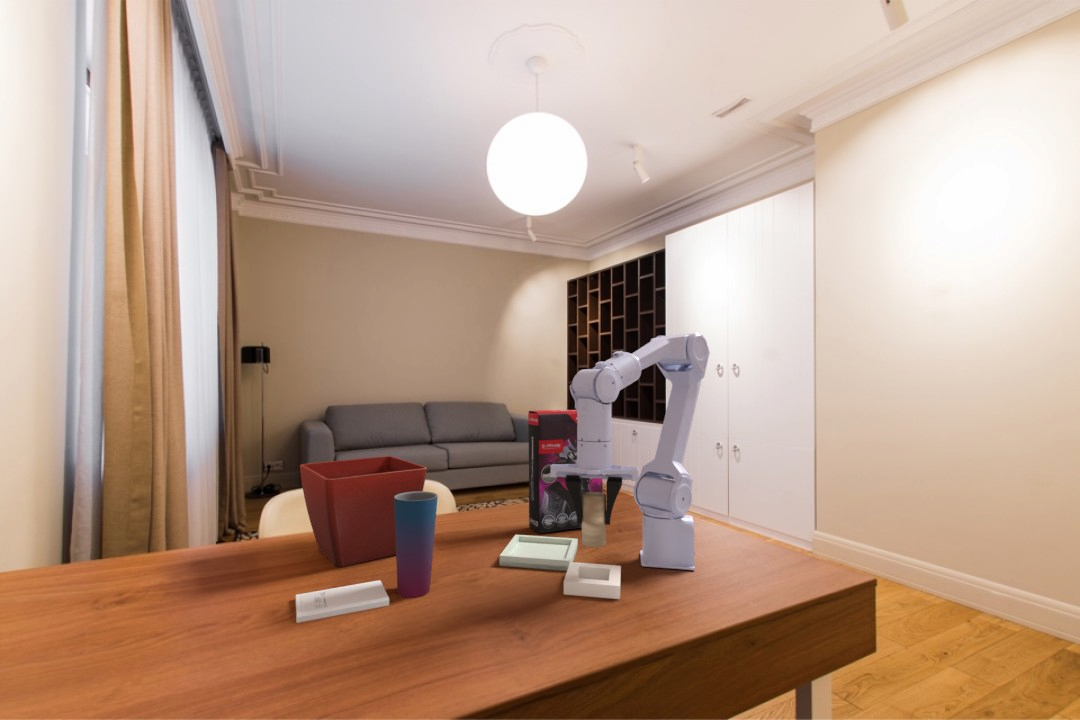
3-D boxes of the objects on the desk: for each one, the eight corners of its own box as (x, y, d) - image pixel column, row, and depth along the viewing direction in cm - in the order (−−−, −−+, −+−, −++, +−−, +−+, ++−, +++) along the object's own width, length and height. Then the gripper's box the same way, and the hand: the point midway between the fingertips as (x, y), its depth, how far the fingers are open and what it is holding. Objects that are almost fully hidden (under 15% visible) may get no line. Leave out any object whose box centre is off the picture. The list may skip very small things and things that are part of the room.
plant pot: (322, 579, 83) (325, 478, 84) (295, 548, 98) (298, 463, 99) (427, 555, 95) (429, 467, 96) (388, 531, 110) (390, 455, 111)
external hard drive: (389, 609, 73) (296, 627, 68) (379, 589, 80) (295, 603, 75) (389, 598, 73) (296, 615, 68) (380, 578, 81) (295, 592, 75)
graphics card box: (537, 535, 108) (539, 411, 110) (525, 527, 114) (527, 409, 116) (604, 527, 115) (604, 410, 117) (589, 519, 122) (589, 409, 123)
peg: (606, 540, 83) (606, 492, 84) (605, 548, 79) (605, 497, 80) (582, 538, 84) (583, 491, 84) (580, 546, 80) (580, 496, 80)
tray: (577, 547, 100) (577, 538, 100) (570, 571, 87) (570, 560, 88) (515, 543, 103) (515, 534, 103) (499, 565, 90) (499, 555, 90)
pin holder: (620, 577, 85) (620, 565, 85) (619, 599, 76) (619, 586, 76) (570, 573, 86) (570, 561, 86) (563, 594, 78) (563, 581, 78)
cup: (424, 602, 74) (426, 501, 75) (383, 597, 76) (386, 499, 76) (442, 584, 81) (444, 492, 82) (404, 580, 82) (406, 490, 83)
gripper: (547, 441, 80) (547, 526, 79) (638, 444, 77) (638, 532, 77) (554, 437, 87) (553, 515, 86) (637, 439, 84) (637, 519, 84)
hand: (593, 522), depth 82 cm, fingers closed on peg, 4 cm apart
